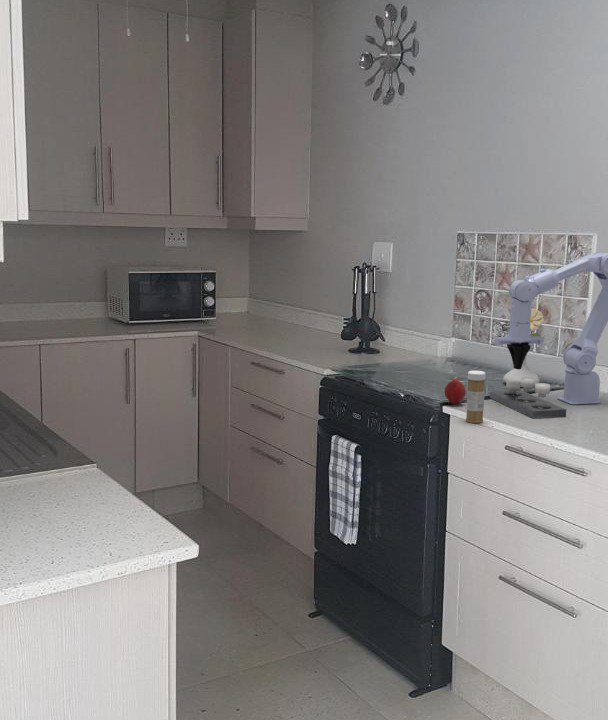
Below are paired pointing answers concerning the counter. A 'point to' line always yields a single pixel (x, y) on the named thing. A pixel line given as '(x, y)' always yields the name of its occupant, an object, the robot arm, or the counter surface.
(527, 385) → the knob mid
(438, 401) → the counter surface
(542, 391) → the knob
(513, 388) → the knob
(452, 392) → the onion
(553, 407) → the panel
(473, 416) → the sprinkles bottle
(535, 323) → the flower in vase
